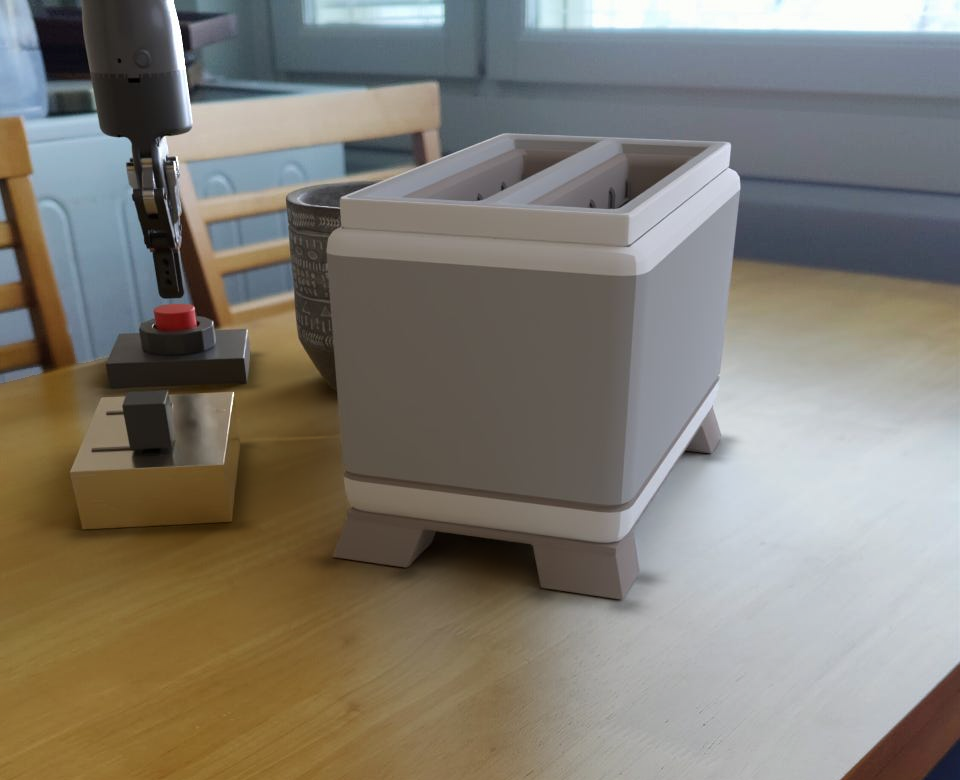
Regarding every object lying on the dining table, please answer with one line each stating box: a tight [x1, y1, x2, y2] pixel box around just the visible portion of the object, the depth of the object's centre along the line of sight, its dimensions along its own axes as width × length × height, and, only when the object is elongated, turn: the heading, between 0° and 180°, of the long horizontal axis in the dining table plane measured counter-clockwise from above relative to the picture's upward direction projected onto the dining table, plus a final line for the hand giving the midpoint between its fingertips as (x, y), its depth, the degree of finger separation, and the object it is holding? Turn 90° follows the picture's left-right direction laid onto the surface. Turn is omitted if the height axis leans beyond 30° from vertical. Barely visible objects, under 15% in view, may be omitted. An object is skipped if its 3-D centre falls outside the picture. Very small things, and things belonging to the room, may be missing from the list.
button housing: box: [105, 315, 251, 390], centre depth 110 cm, size 12×10×4 cm
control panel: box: [69, 391, 241, 530], centre depth 87 cm, size 10×16×4 cm, turn 7°
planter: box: [285, 179, 385, 392], centre depth 104 cm, size 14×14×15 cm
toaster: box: [326, 133, 741, 600], centre depth 82 cm, size 19×34×20 cm, turn 160°
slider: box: [122, 389, 175, 450], centre depth 82 cm, size 3×3×3 cm
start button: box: [153, 303, 197, 331], centre depth 109 cm, size 4×4×2 cm
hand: (172, 296), depth 107 cm, fingers closed
